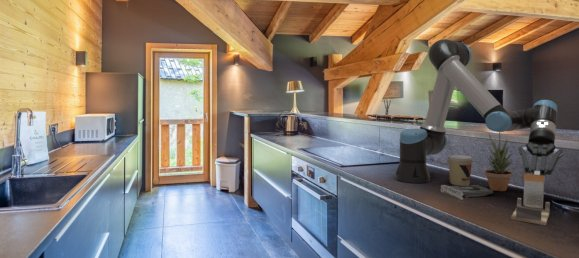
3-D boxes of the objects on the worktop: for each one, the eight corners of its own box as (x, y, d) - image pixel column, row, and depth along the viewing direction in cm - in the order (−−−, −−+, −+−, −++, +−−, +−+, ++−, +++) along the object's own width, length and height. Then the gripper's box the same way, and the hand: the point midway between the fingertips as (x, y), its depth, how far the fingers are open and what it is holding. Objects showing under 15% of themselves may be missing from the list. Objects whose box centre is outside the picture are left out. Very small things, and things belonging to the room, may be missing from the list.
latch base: (517, 208, 114) (518, 196, 114) (549, 213, 108) (550, 201, 108) (511, 219, 103) (511, 206, 103) (545, 225, 98) (546, 211, 98)
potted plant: (479, 187, 144) (480, 128, 142) (497, 186, 146) (499, 128, 145) (499, 193, 134) (501, 130, 133) (518, 191, 136) (520, 129, 135)
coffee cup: (463, 187, 144) (464, 159, 143) (443, 182, 152) (443, 156, 151) (476, 184, 149) (476, 156, 148) (456, 179, 157) (456, 154, 156)
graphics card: (460, 192, 124) (440, 184, 136) (460, 202, 125) (439, 193, 136) (500, 190, 127) (477, 182, 139) (500, 200, 128) (477, 191, 140)
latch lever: (523, 206, 112) (524, 173, 112) (543, 209, 109) (544, 175, 108) (522, 207, 111) (524, 174, 110) (542, 210, 108) (544, 176, 107)
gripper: (519, 127, 126) (511, 180, 115) (565, 129, 118) (560, 185, 106) (521, 140, 130) (513, 192, 119) (565, 143, 122) (560, 198, 110)
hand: (535, 189), depth 112 cm, fingers closed
